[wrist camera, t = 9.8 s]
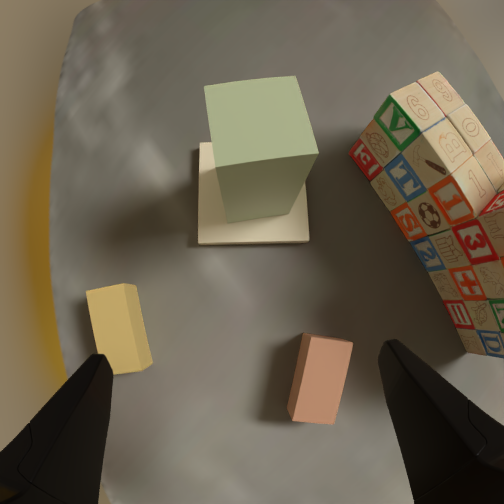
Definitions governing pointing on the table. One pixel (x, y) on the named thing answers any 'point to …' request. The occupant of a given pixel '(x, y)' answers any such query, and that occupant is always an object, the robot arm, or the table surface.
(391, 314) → the table surface
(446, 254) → the stack of blocks
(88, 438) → the robot arm
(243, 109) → the sage brick
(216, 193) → the cream square slab
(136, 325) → the ochre brick
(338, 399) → the terracotta brick
